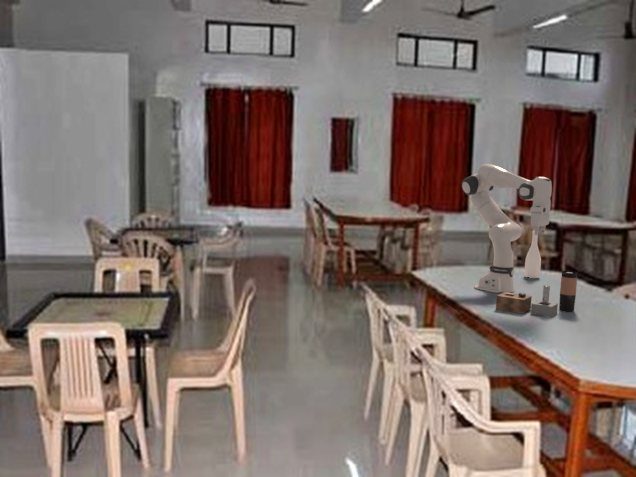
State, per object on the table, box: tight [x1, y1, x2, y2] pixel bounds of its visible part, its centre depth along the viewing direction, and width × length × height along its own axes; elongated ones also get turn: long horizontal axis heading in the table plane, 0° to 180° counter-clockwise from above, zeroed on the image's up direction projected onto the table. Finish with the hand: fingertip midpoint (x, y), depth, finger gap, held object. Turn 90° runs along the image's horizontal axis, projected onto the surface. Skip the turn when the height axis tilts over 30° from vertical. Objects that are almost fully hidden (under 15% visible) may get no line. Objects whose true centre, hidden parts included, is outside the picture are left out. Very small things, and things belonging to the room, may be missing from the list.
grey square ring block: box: [530, 300, 559, 318], centre depth 355 cm, size 10×10×5 cm
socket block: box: [495, 292, 532, 314], centre depth 361 cm, size 14×12×7 cm
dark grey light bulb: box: [517, 292, 527, 298], centre depth 359 cm, size 4×4×8 cm
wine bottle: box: [523, 230, 542, 279], centre depth 452 cm, size 10×10×30 cm
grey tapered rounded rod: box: [541, 285, 551, 305], centre depth 354 cm, size 3×3×14 cm
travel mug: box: [558, 270, 578, 313], centre depth 362 cm, size 8×8×20 cm
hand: (539, 234), depth 372 cm, fingers open, 8 cm apart
